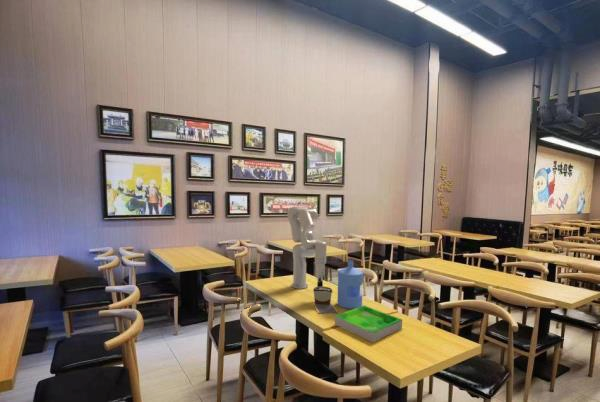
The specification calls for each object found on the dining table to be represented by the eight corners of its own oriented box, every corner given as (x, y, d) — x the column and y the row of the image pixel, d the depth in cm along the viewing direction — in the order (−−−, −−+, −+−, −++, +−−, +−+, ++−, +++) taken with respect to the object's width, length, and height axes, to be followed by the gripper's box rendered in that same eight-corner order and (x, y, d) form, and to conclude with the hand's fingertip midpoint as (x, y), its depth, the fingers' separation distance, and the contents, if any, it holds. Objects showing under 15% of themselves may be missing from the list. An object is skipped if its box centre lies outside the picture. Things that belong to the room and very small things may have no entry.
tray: (334, 325, 163) (334, 315, 163) (363, 313, 180) (364, 305, 179) (373, 343, 144) (373, 332, 144) (402, 328, 160) (402, 319, 160)
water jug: (332, 303, 193) (333, 260, 192) (348, 298, 204) (349, 256, 203) (351, 311, 181) (352, 264, 181) (367, 305, 192) (368, 261, 191)
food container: (332, 302, 195) (332, 286, 195) (332, 305, 189) (332, 289, 189) (312, 301, 196) (313, 285, 196) (312, 304, 190) (312, 288, 190)
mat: (312, 302, 195) (312, 301, 195) (330, 301, 197) (330, 301, 197) (318, 313, 177) (318, 312, 177) (338, 312, 179) (338, 311, 179)
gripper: (312, 258, 207) (312, 284, 207) (317, 263, 192) (316, 292, 192) (323, 257, 208) (322, 284, 208) (328, 262, 193) (328, 291, 194)
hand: (319, 288), depth 200 cm, fingers closed
